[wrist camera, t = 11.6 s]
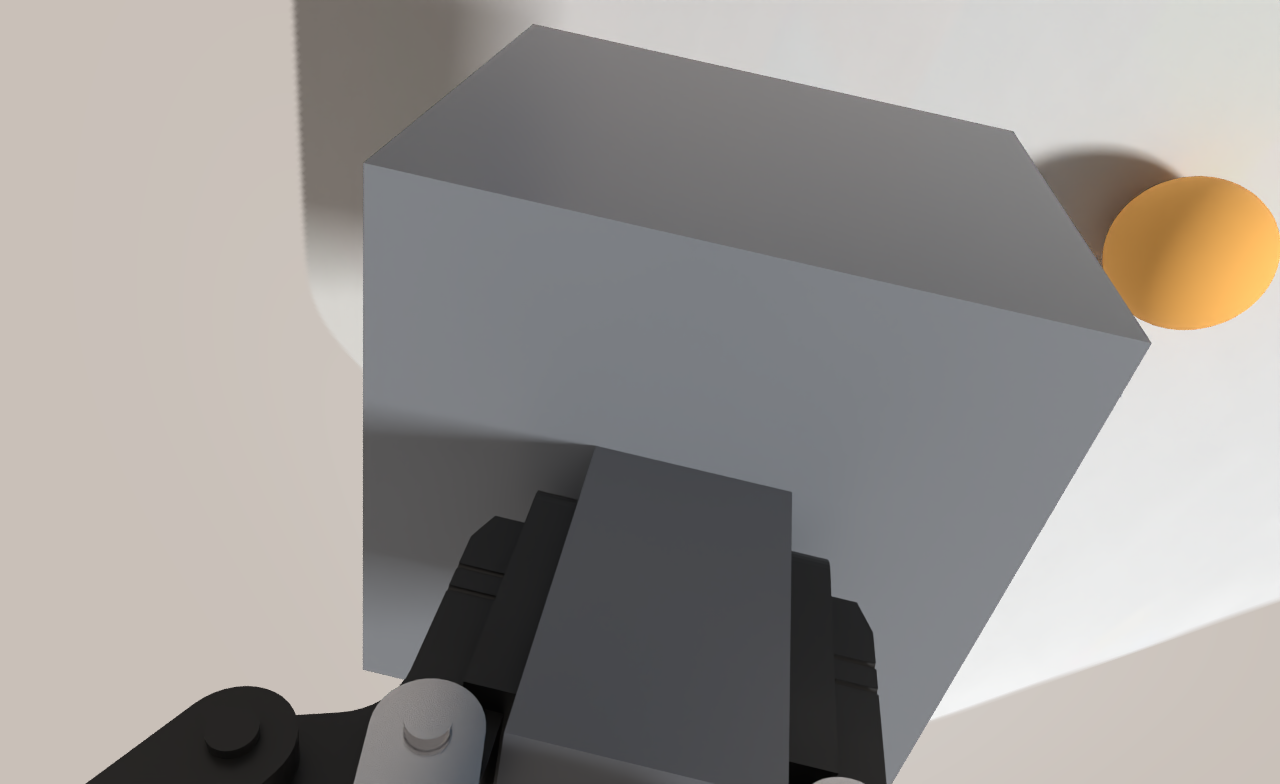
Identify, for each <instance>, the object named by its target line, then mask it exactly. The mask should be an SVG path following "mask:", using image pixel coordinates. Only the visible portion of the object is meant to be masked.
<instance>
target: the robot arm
mask: <svg viewBox="0 0 1280 784" xmlns="http://www.w3.org/2000/svg"><path fill="white" fill-rule="evenodd" d="M577 503H578V499H573V498H569V497H565V496H561V495H556V494H552V493H548V492H544V491H540V490H538V491H537V493H536V495H535V497H534V499H533V502H532V505H531V507H530V510H529V512H528V515H527V518H526V520H525V523H524V522H520V521H516V520H512V519H507V518H503V517H499V516H494V517H493V518H492V519H491V520H489V521H488V522H487V523H486V524H485V525H483V526H482V527H481V528H480V529H479V530H477V531H476V532H475V533H474V534H473V535H471V537H470V539H469V541H468V544H467V546H466V548H465V550H464V552H463V555H462V557H461V559H460V561H459V565H458V568H456V570H455V572H454V575H453V577H452V579H451V581H450V583H449V587H448V590H446V592H445V595H444V597H443V599H442V601H441V603H440V606H439V608H438V610H437V612H436V614H435V617H434V619H433V621H432V623H431V625H430V628H429V630H428V632H427V634H426V637H425V639H424V641H423V643H422V645H421V648H420V650H419V652H418V654H417V656H416V659H415V661H414V663H413V665H412V667H411V670H410V671H409V673H408V675H407V677H406V678H405V680H404V681H403V682H402V684H401V685H400V686H399V687H397V688H395V689H394V690H392V691H391V692H390V693H388V694H387V695H386V696H385V697H384V698H383V699H382V700H380V701H379V702H377V703H375V704H373V705H370V706H367V707H365V708H362V709H358V710H354V711H348V712H340V713H324V714H307V715H295V712H294V710H293V708H292V707H291V705H290V704H289V703H288V702H287V701H286V700H285V699H284V698H283V697H282V696H280V695H279V694H277V693H275V692H273V691H271V690H268V689H264V688H260V687H252V686H243V687H233V688H228V689H224V690H221V691H218V692H215V693H213V694H210V695H208V696H206V697H204V698H202V699H201V700H199V701H198V702H196V703H195V704H193V705H192V706H191V707H189V708H188V709H186V710H185V711H184V712H182V713H181V714H180V715H178V716H177V717H176V718H174V719H173V720H172V721H170V722H169V723H167V724H166V725H165V726H163V727H162V728H161V729H159V730H158V731H157V732H155V733H154V734H152V735H151V736H150V737H148V738H147V739H146V740H144V741H143V742H142V743H140V744H139V745H138V746H136V747H135V748H133V749H132V750H131V751H130V752H128V753H127V754H126V755H124V756H123V757H121V758H120V759H119V760H117V761H116V762H115V763H113V764H112V765H110V766H109V767H108V768H107V769H105V770H104V771H102V772H101V773H100V774H98V775H97V776H96V777H94V778H93V779H92V780H90V781H89V782H87V783H86V784H497V777H498V770H499V764H500V757H501V750H502V744H503V737H504V731H505V728H506V725H507V722H508V719H509V716H510V713H511V709H512V706H513V703H514V700H515V697H516V694H517V691H518V688H519V684H520V681H521V678H522V675H523V672H524V669H525V666H526V663H527V659H528V656H529V653H530V650H531V647H532V644H533V641H534V638H535V634H536V631H537V628H538V625H539V622H540V619H541V616H542V613H543V609H544V606H545V603H546V600H547V597H548V594H549V591H550V587H551V584H552V581H553V578H554V575H555V572H556V569H557V566H558V562H559V559H560V556H561V553H562V550H563V547H564V544H565V541H566V537H567V534H568V531H569V528H570V525H571V522H572V519H573V516H574V512H575V509H576V506H577ZM875 664H876V659H875V648H874V636H873V631H872V630H871V628H870V626H869V624H868V622H867V620H866V618H865V616H864V615H863V613H862V611H861V609H860V607H859V605H858V603H857V602H853V601H849V600H845V599H841V598H837V597H832V596H831V573H830V563H829V560H828V559H824V558H820V557H816V556H811V555H807V554H803V553H799V552H795V551H791V630H790V713H789V784H887V782H886V771H885V759H884V748H883V737H882V726H881V715H880V703H879V695H877V690H878V681H877V670H876V669H875Z"/></svg>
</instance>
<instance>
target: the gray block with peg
mask: <svg viewBox="0 0 1280 784" xmlns="http://www.w3.org/2000/svg"><path fill="white" fill-rule="evenodd" d="M1150 345H1151V342H1150V340H1149V339H1148V337H1147V335H1146V334H1145V332H1144V331H1143V329H1142V328H1141V326H1140V325H1139V323H1138V322H1137V320H1136V319H1135V317H1134V316H1133V314H1132V313H1131V311H1130V309H1129V308H1128V306H1127V305H1126V303H1125V302H1124V300H1123V299H1122V297H1121V296H1120V294H1119V293H1118V291H1117V290H1116V288H1115V286H1114V285H1113V283H1112V282H1111V280H1110V279H1109V277H1108V276H1107V274H1106V273H1105V271H1104V270H1103V268H1102V267H1101V265H1100V264H1099V262H1098V260H1097V259H1096V257H1095V256H1094V254H1093V253H1092V251H1091V250H1090V248H1089V247H1088V245H1087V244H1086V242H1085V241H1084V239H1083V238H1082V236H1081V234H1080V233H1079V231H1078V230H1077V228H1076V227H1075V225H1074V224H1073V222H1072V221H1071V219H1070V218H1069V216H1068V215H1067V213H1066V212H1065V210H1064V208H1063V207H1062V205H1061V204H1060V202H1059V201H1058V199H1057V198H1056V196H1055V195H1054V193H1053V192H1052V190H1051V189H1050V187H1049V185H1048V184H1047V182H1046V181H1045V179H1044V178H1043V176H1042V175H1041V173H1040V172H1039V170H1038V169H1037V167H1036V166H1035V164H1034V163H1033V161H1032V159H1031V158H1030V156H1029V155H1028V153H1027V152H1026V150H1025V149H1024V147H1023V146H1022V144H1021V143H1020V141H1019V140H1018V138H1017V137H1016V135H1015V133H1014V132H1013V131H1009V130H1005V129H1000V128H996V127H991V126H987V125H982V124H978V123H973V122H969V121H965V120H960V119H956V118H951V117H947V116H942V115H938V114H933V113H929V112H924V111H920V110H915V109H911V108H906V107H902V106H897V105H893V104H888V103H884V102H880V101H875V100H871V99H866V98H862V97H857V96H853V95H848V94H844V93H839V92H835V91H830V90H826V89H821V88H817V87H812V86H808V85H804V84H799V83H795V82H790V81H786V80H781V79H777V78H772V77H768V76H763V75H759V74H754V73H750V72H745V71H741V70H736V69H732V68H728V67H723V66H719V65H714V64H710V63H705V62H701V61H696V60H692V59H687V58H683V57H678V56H674V55H669V54H665V53H660V52H656V51H652V50H647V49H643V48H638V47H634V46H629V45H625V44H620V43H616V42H611V41H607V40H602V39H598V38H593V37H589V36H584V35H580V34H575V33H571V32H567V31H562V30H558V29H553V28H549V27H544V26H540V25H535V24H533V25H532V26H530V27H529V28H528V29H527V30H526V31H524V32H523V33H522V34H521V35H519V36H518V37H517V38H516V39H514V40H513V41H512V42H511V43H510V44H508V45H507V46H506V47H505V48H503V49H502V50H501V51H500V52H499V53H497V54H496V55H495V56H494V57H492V58H491V59H490V60H489V61H488V62H486V63H485V64H484V65H483V66H481V67H480V68H479V69H478V70H477V71H475V72H474V73H473V74H472V75H470V76H469V77H468V78H467V79H466V80H464V81H463V82H462V83H461V84H459V85H458V86H457V87H456V88H455V89H453V90H452V91H451V92H450V93H448V94H447V95H446V96H445V97H443V98H442V99H441V100H440V101H439V102H437V103H436V104H435V105H434V106H432V107H431V108H430V109H429V110H428V111H426V112H425V113H424V114H423V115H421V116H420V117H419V118H418V119H417V120H415V121H414V122H413V123H412V124H410V125H409V126H408V127H407V128H406V129H404V130H403V131H402V132H401V133H399V134H398V135H397V136H396V137H395V138H393V139H392V140H391V141H390V142H388V143H387V144H386V145H385V146H383V147H382V148H381V149H380V150H379V151H377V152H376V153H375V154H374V155H372V156H371V157H370V158H369V159H368V160H366V161H365V162H364V163H363V670H367V671H371V672H375V673H379V674H383V675H388V676H392V677H396V678H400V679H404V680H405V678H406V677H407V675H408V673H409V671H410V670H411V667H412V665H413V663H414V661H415V659H416V656H417V654H418V652H419V650H420V648H421V645H422V643H423V641H424V639H425V637H426V634H427V632H428V630H429V628H430V625H431V623H432V621H433V619H434V617H435V614H436V612H437V610H438V608H439V606H440V603H441V601H442V599H443V597H444V595H445V592H446V590H448V587H449V583H450V581H451V579H452V577H453V575H454V572H455V570H456V568H458V565H459V561H460V559H461V557H462V555H463V552H464V550H465V548H466V546H467V544H468V541H469V539H470V537H471V535H473V534H474V533H475V532H476V531H477V530H479V529H480V528H481V527H482V526H483V525H485V524H486V523H487V522H488V521H489V520H491V519H492V518H493V517H494V516H499V517H503V518H507V519H512V520H516V521H520V522H524V523H525V520H526V518H527V515H528V512H529V510H530V507H531V505H532V502H533V499H534V497H535V495H536V493H537V491H538V490H540V491H544V492H548V493H552V494H556V495H561V496H565V497H569V498H573V499H578V503H577V506H576V509H575V512H574V516H573V519H572V522H571V525H570V528H569V531H568V534H567V537H566V541H565V544H564V547H563V550H562V553H561V556H560V559H559V562H558V566H557V569H556V572H555V575H554V578H553V581H552V584H551V587H550V591H549V594H548V597H547V600H546V603H545V606H544V609H543V613H542V616H541V619H540V622H539V625H538V628H537V631H536V634H535V638H534V641H533V644H532V647H531V650H530V653H529V656H528V659H527V663H526V666H525V669H524V672H523V675H522V678H521V681H520V684H519V688H518V691H517V694H516V697H515V700H514V703H513V706H512V709H511V713H510V716H509V719H508V722H507V725H506V728H505V731H504V737H503V744H502V750H501V757H500V764H499V770H498V777H497V784H789V713H790V630H791V551H795V552H799V553H803V554H807V555H811V556H816V557H820V558H824V559H828V560H829V563H830V573H831V596H832V597H837V598H841V599H845V600H849V601H853V602H857V603H858V605H859V607H860V609H861V611H862V613H863V615H864V616H865V618H866V620H867V622H868V624H869V626H870V628H871V630H872V631H873V636H874V648H875V659H876V664H875V669H876V670H877V681H878V690H877V695H879V703H880V715H881V726H882V737H883V748H884V759H885V771H886V782H887V784H892V783H893V781H894V779H895V777H896V776H897V774H898V772H899V771H900V769H901V767H902V765H903V764H904V762H905V761H906V759H907V757H908V755H909V754H910V752H911V750H912V749H913V747H914V745H915V744H916V742H917V740H918V738H919V737H920V735H921V733H922V731H923V730H924V728H925V727H926V725H927V723H928V722H929V720H930V718H931V716H932V715H933V713H934V711H935V710H936V708H937V706H938V705H939V703H940V701H941V700H942V698H943V696H944V694H945V693H946V691H947V689H948V688H949V686H950V684H951V683H952V681H953V679H954V677H955V676H956V674H957V672H958V671H959V669H960V667H961V666H962V664H963V662H964V661H965V659H966V657H967V655H968V654H969V652H970V650H971V649H972V647H973V645H974V644H975V642H976V640H977V638H978V637H979V635H980V633H981V632H982V630H983V628H984V627H985V625H986V623H987V622H988V620H989V618H990V616H991V615H992V613H993V611H994V610H995V608H996V606H997V605H998V603H999V601H1000V599H1001V598H1002V596H1003V594H1004V593H1005V591H1006V589H1007V588H1008V586H1009V584H1010V583H1011V581H1012V579H1013V577H1014V576H1015V574H1016V572H1017V571H1018V569H1019V567H1020V566H1021V564H1022V562H1023V560H1024V559H1025V557H1026V555H1027V554H1028V552H1029V550H1030V549H1031V547H1032V545H1033V544H1034V542H1035V540H1036V538H1037V537H1038V535H1039V533H1040V532H1041V530H1042V528H1043V527H1044V525H1045V523H1046V521H1047V520H1048V518H1049V516H1050V515H1051V513H1052V511H1053V510H1054V508H1055V506H1056V505H1057V503H1058V501H1059V499H1060V498H1061V496H1062V494H1063V493H1064V491H1065V489H1066V488H1067V486H1068V484H1069V482H1070V481H1071V479H1072V477H1073V476H1074V474H1075V472H1076V471H1077V469H1078V467H1079V466H1080V464H1081V462H1082V460H1083V459H1084V457H1085V455H1086V454H1087V452H1088V450H1089V449H1090V447H1091V445H1092V443H1093V442H1094V440H1095V438H1096V437H1097V435H1098V433H1099V432H1100V430H1101V428H1102V427H1103V425H1104V423H1105V421H1106V420H1107V418H1108V416H1109V415H1110V413H1111V411H1112V410H1113V408H1114V406H1115V404H1116V403H1117V401H1118V399H1119V398H1120V396H1121V394H1122V393H1123V391H1124V389H1125V388H1126V386H1127V384H1128V382H1129V381H1130V379H1131V377H1132V376H1133V374H1134V372H1135V371H1136V369H1137V367H1138V365H1139V364H1140V362H1141V360H1142V359H1143V357H1144V355H1145V354H1146V352H1147V350H1148V349H1149V347H1150Z"/></svg>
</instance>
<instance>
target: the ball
mask: <svg viewBox="0 0 1280 784" xmlns="http://www.w3.org/2000/svg"><path fill="white" fill-rule="evenodd" d="M1279 259H1280V236H1279V231H1278V227H1277V224H1276V222H1275V219H1274V217H1273V215H1272V214H1271V212H1270V211H1269V209H1268V208H1267V207H1266V205H1265V204H1264V203H1263V202H1262V201H1261V200H1260V199H1259V198H1258V197H1257V196H1256V195H1254V194H1253V193H1252V192H1250V191H1249V190H1247V189H1245V188H1244V187H1242V186H1240V185H1238V184H1236V183H1233V182H1230V181H1227V180H1224V179H1220V178H1215V177H1205V176H1194V177H1182V178H1177V179H1173V180H1169V181H1166V182H1163V183H1160V184H1158V185H1156V186H1153V187H1151V188H1149V189H1148V190H1146V191H1144V192H1143V193H1141V194H1140V195H1138V196H1137V197H1135V198H1134V199H1133V200H1132V201H1130V202H1129V203H1128V204H1127V205H1126V206H1125V207H1124V208H1123V210H1122V211H1121V212H1120V213H1119V214H1118V215H1117V217H1116V218H1115V220H1114V221H1113V223H1112V225H1111V227H1110V229H1109V231H1108V233H1107V236H1106V239H1105V243H1104V247H1103V256H1102V263H1103V270H1104V271H1105V273H1106V274H1107V276H1108V277H1109V279H1110V280H1111V282H1112V283H1113V285H1114V286H1115V288H1116V290H1117V291H1118V293H1119V294H1120V296H1121V297H1122V299H1123V300H1124V302H1125V303H1126V305H1127V306H1128V308H1129V309H1130V311H1131V313H1132V314H1133V315H1134V316H1136V317H1137V318H1139V319H1140V320H1143V321H1145V322H1147V323H1150V324H1152V325H1155V326H1159V327H1163V328H1167V329H1175V330H1194V329H1201V328H1207V327H1211V326H1214V325H1217V324H1220V323H1223V322H1226V321H1228V320H1230V319H1232V318H1234V317H1236V316H1237V315H1239V314H1241V313H1242V312H1244V311H1245V310H1247V309H1248V308H1249V307H1250V306H1252V305H1253V304H1254V303H1255V302H1256V301H1257V300H1258V299H1259V298H1260V297H1261V296H1262V294H1263V293H1264V292H1265V291H1266V289H1267V288H1268V286H1269V285H1270V283H1271V281H1272V279H1273V278H1274V275H1275V273H1276V270H1277V267H1278V263H1279Z"/></svg>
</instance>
